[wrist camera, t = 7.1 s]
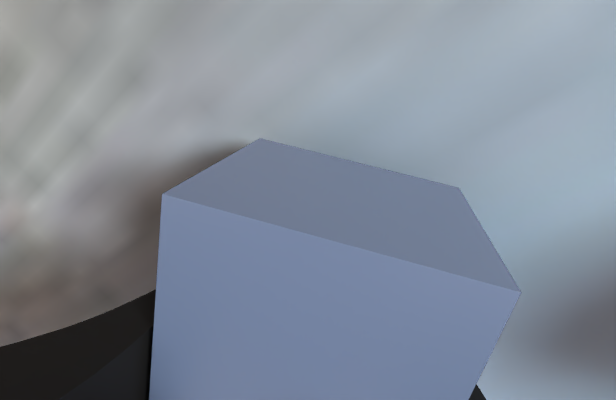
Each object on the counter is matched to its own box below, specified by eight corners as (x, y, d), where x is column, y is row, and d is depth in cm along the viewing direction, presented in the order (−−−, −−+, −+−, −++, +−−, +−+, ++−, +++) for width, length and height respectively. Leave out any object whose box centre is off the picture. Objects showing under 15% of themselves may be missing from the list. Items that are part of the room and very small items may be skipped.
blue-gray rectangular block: (376, 409, 14) (370, 597, 9) (225, 360, 14) (141, 511, 9) (459, 188, 10) (521, 292, 6) (259, 138, 11) (161, 193, 6)
